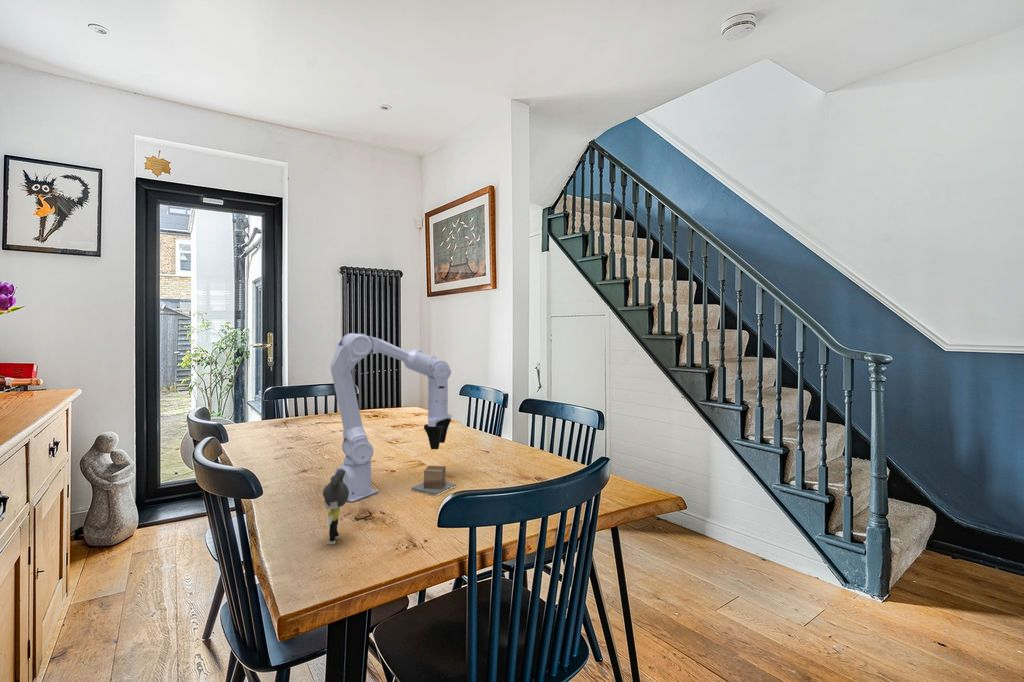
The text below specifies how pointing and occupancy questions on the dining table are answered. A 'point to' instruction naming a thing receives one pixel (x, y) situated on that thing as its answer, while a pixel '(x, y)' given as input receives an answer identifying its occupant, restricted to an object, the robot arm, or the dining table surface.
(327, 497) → the toy
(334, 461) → the dining table surface
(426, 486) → the walnut block
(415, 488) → the slate coaster
